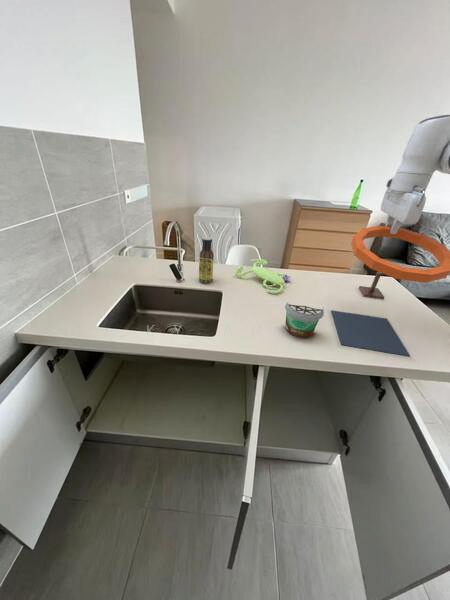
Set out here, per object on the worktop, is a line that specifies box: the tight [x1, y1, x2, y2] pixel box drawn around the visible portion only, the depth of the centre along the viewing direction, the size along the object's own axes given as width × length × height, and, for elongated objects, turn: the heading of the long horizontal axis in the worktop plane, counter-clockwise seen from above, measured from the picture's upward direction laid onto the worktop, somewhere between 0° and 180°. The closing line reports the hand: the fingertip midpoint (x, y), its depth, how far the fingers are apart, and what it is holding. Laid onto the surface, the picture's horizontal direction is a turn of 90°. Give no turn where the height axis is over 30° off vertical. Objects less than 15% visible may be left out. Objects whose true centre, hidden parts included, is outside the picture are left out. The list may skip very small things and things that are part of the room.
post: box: [358, 271, 385, 300], centre depth 105 cm, size 8×8×10 cm
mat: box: [330, 309, 411, 357], centre depth 84 cm, size 20×20×1 cm
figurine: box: [234, 258, 291, 295], centre depth 113 cm, size 18×27×6 cm
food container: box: [284, 301, 325, 339], centre depth 78 cm, size 12×6×10 cm, turn 76°
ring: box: [350, 225, 450, 284], centre depth 70 cm, size 25×25×3 cm
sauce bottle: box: [198, 236, 215, 284], centre depth 105 cm, size 6×6×20 cm
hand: (389, 231), depth 78 cm, fingers closed on ring, 2 cm apart
